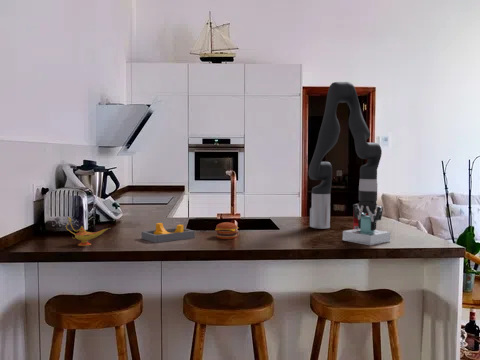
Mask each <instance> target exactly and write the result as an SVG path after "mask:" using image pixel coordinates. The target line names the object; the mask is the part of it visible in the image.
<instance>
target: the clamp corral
mask: <svg viewBox="0 0 480 360" xmlns="http://www.w3.org/2000/svg"><path fill="white" fill-rule="evenodd" d="M176 228H177V227H172V228H171V227H170V228H164V229H165V230H166V231H167V232H169V234H160V235H155V234H154V232H155V231H156V229H155V230H154V229H153V230H144V231H143V230H142V231H141V239H142V240H145V241H147V242H151V243H154V244H157V243H165V242H172V241H174V242H175V241H180V240H189V239H195V236H196V232H195V230H194V229H193V230H192V229H189V228H185V227H184V232H177V233H174V232H175V230H176Z"/></svg>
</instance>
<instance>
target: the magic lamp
mask: <svg viewBox="0 0 480 360" xmlns="http://www.w3.org/2000/svg"><path fill="white" fill-rule="evenodd" d="M67 222H68V223H67V224H66V225H65V229H66V230H67V231H69V232H70V233H71V234H73V235H74V237H73V235H72V239H74V240H75V239H77V240H78V241H80V242H79V243H77V246H79V247H81V246H82V247H84V246H85V247H86V246H87V247H88V246H91V245H92V243H90V242H89V241H90V240H92V239H95V238H97V237H99V236H100V235H102V234H103V233H105V232H106V231H107V230H109V229H111V227H108V228H107V227H106V228H104V229H100V230H99V231H95V232H92V231H87V230H86V229H85V228H84V226H83V225H81V226H80V228H79V229H74V227H73V224H72V218H71V217H69V216H68V217H67ZM69 224H70V226H71V229H72V230H73V231H74V232H73V231H71V230H70V229H68V225H69ZM75 232H76V233H75ZM88 240H89V241H88Z"/></svg>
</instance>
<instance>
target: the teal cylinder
mask: <svg viewBox="0 0 480 360" xmlns="http://www.w3.org/2000/svg"><path fill="white" fill-rule="evenodd" d="M371 222H372V221H371V217H370V216H361V231H360V232H362V233H374V231H372V230H371Z"/></svg>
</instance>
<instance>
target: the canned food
mask: <svg viewBox="0 0 480 360" xmlns="http://www.w3.org/2000/svg"><path fill="white" fill-rule="evenodd" d="M359 212H360V208H359ZM352 215H353V216H352V217H353V218H352V221H353V222H352V223H353V224H352V230H353V229H359V227H358V219H357V218H355V217H354V211H353V213H352ZM365 216H369V214H367V213H366V215H365Z"/></svg>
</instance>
